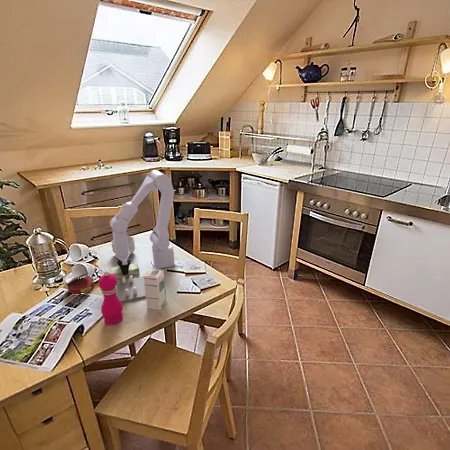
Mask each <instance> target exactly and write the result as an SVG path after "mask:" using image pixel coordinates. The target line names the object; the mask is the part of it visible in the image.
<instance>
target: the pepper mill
mask: <svg viewBox="0 0 450 450" xmlns="http://www.w3.org/2000/svg"><path fill="white" fill-rule="evenodd" d="M117 282H118V279H117V278H116V276H115V275H113V274H110V271H108V270H105V271H104V272H103V274H102V275H101V276H100V277H99V278H98V287H99V288H100V290H101V294H102V295H103V303H102V304H101V308H100V310H101V314H102V316H103V320H104V323H105V324H106V325H110V326H111V325H116V324H118V323H120V322H121V321H122V320H123V317H124V315H123V311H124V306H123V303H121V301H120V300H119V299H118V297H117V295H116V291H117V286H116V284H117Z"/></svg>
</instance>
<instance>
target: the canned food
mask: <svg viewBox="0 0 450 450" xmlns="http://www.w3.org/2000/svg"><path fill="white" fill-rule="evenodd" d="M89 274H90V272H87V273H83V274H80V275H79V277H78V276H76V277H74V278H72V279H70V280H69V281H68V282H66V283H65V284H66V285H67V291H68V293H69V292H70V293H73V294H81V293H86V294H88V293H90V292H91V291H93V290H94V288H95V283H94V277H92V276H89ZM82 276H87V277H85V278H81V279H80V277H82ZM78 278H79V279H78ZM70 293H69V294H70Z"/></svg>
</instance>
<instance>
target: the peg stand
mask: <svg viewBox="0 0 450 450" xmlns="http://www.w3.org/2000/svg"><path fill="white" fill-rule="evenodd" d="M133 276H134V275H131V276H128V278H129V279H127V280H126V277H122V278H121V281H117V284H116V286H117V291H116V295H117V297H118V299H119V300H120V301H121V303H122V304H125V303H130V302H134V301H138V300H142V299H146V294H145V286H144V278H143V276H140V277H135V278H134V277H133Z"/></svg>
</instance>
